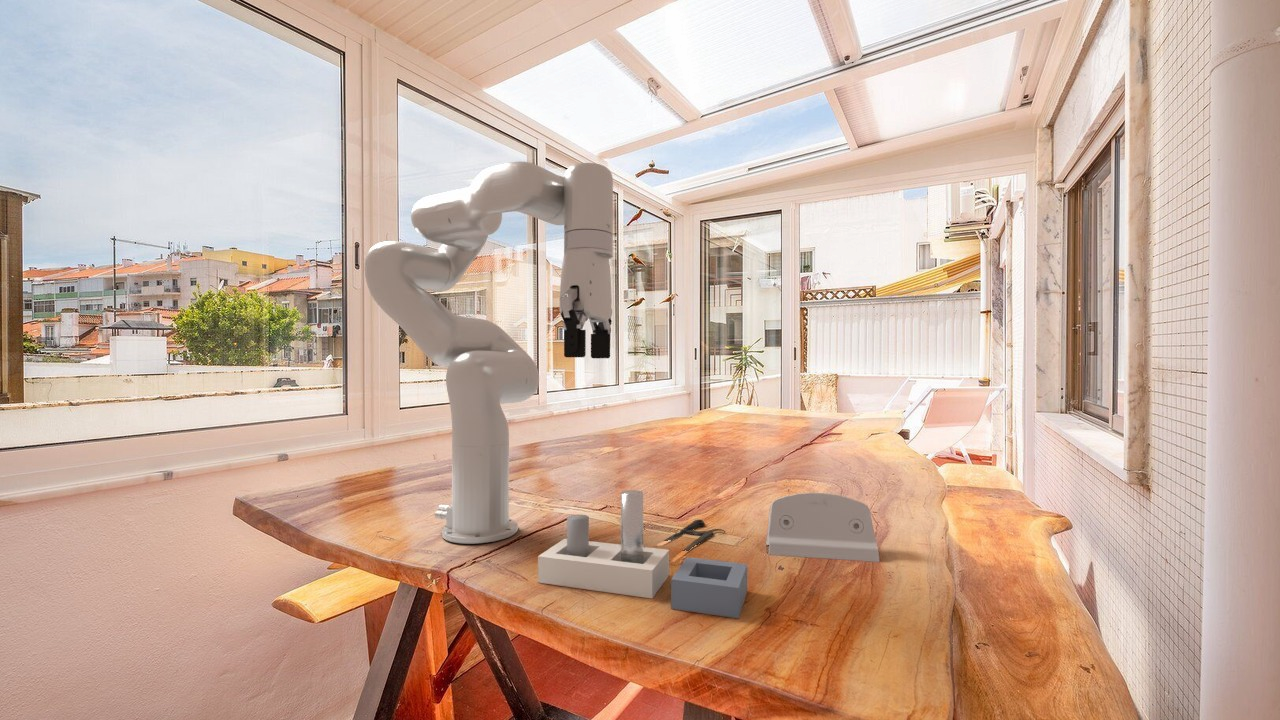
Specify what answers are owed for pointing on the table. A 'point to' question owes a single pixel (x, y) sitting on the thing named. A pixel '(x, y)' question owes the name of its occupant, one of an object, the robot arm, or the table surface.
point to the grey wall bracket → (821, 528)
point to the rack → (600, 564)
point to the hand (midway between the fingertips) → (588, 357)
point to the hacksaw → (689, 529)
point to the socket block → (709, 587)
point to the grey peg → (632, 526)
